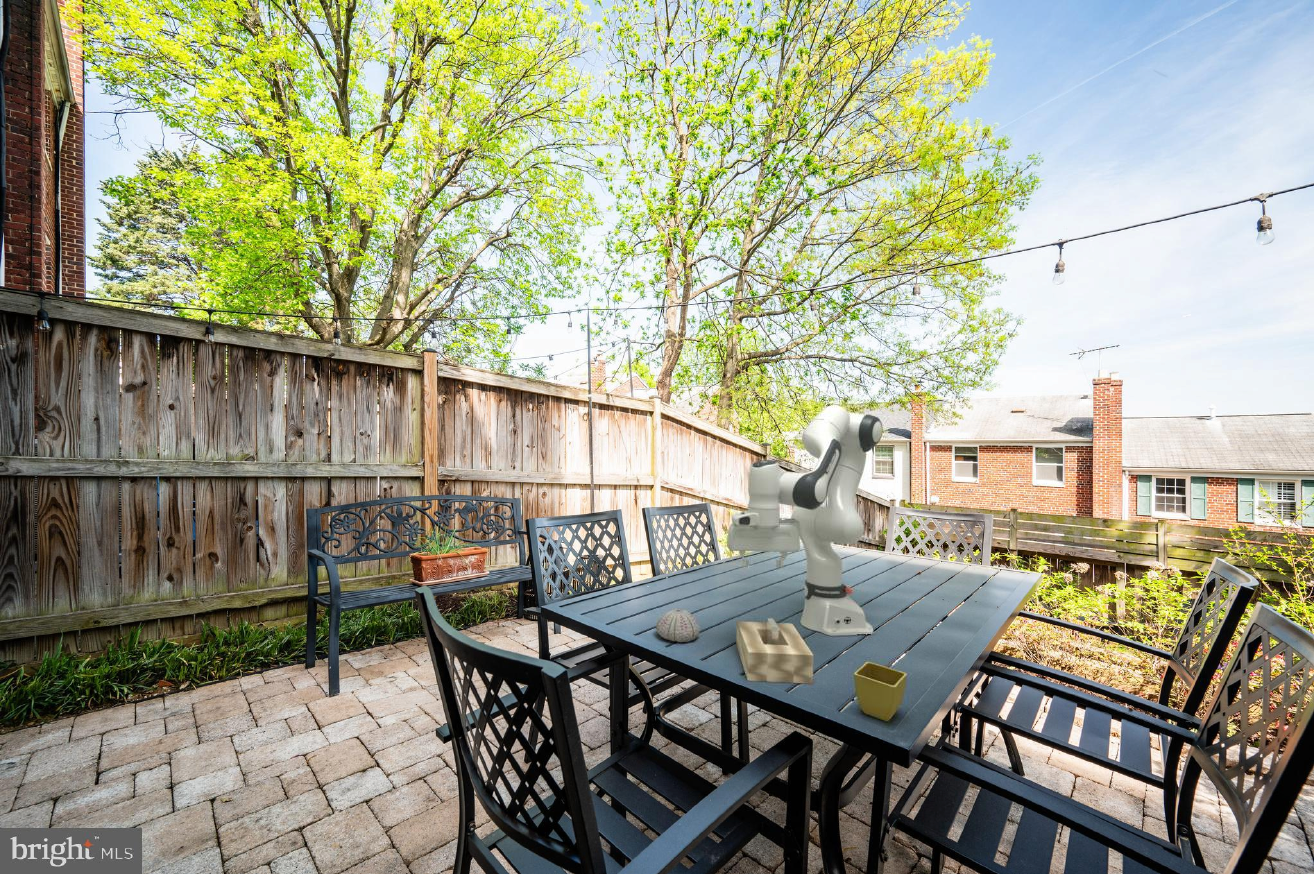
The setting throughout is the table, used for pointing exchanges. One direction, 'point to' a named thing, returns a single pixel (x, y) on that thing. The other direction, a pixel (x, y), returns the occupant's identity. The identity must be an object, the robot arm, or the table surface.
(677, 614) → the sea urchin shell
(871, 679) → the flower pot
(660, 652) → the table surface
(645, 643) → the table surface
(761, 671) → the well block
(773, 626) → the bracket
